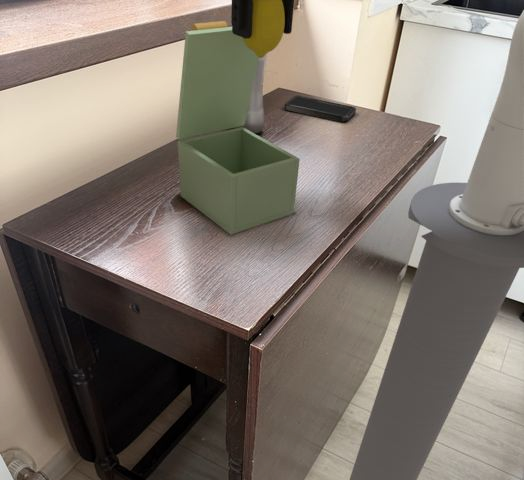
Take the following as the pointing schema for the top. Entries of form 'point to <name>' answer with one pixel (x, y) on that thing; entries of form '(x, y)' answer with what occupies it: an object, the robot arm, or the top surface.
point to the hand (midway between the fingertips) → (262, 32)
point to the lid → (214, 80)
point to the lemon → (266, 26)
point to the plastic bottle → (256, 100)
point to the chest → (237, 178)
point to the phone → (320, 108)
